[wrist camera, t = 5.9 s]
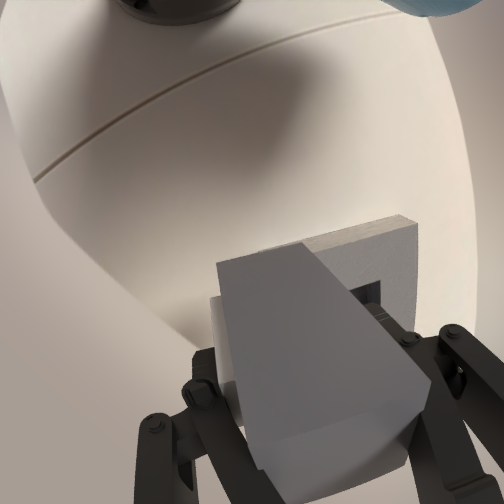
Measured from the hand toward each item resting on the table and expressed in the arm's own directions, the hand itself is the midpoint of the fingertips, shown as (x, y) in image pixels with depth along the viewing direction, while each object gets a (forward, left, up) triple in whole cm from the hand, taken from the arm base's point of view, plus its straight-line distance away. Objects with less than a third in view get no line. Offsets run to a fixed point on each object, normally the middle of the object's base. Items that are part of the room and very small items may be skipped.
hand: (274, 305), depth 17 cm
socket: (+13, +10, -17) cm, 24 cm away
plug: (0, 0, -2) cm, 2 cm away
